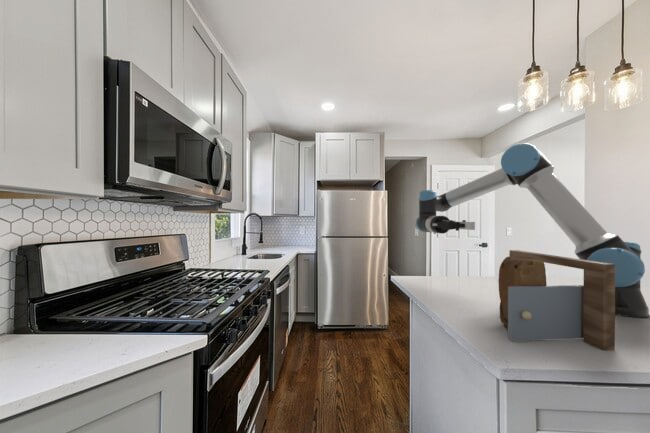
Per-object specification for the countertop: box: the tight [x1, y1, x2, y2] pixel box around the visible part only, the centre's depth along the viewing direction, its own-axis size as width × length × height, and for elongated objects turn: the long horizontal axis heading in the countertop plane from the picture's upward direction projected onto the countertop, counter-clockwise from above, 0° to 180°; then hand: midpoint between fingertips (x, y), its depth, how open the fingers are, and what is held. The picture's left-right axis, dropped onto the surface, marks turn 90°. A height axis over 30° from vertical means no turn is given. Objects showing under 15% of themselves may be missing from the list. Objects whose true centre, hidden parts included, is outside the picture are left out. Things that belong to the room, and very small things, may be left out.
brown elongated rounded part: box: [498, 256, 548, 330], centre depth 75 cm, size 11×8×20 cm
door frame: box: [508, 249, 616, 351], centre depth 78 cm, size 3×28×20 cm, turn 6°
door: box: [507, 284, 584, 342], centre depth 68 cm, size 21×3×13 cm, turn 96°
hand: (472, 225), depth 95 cm, fingers closed
